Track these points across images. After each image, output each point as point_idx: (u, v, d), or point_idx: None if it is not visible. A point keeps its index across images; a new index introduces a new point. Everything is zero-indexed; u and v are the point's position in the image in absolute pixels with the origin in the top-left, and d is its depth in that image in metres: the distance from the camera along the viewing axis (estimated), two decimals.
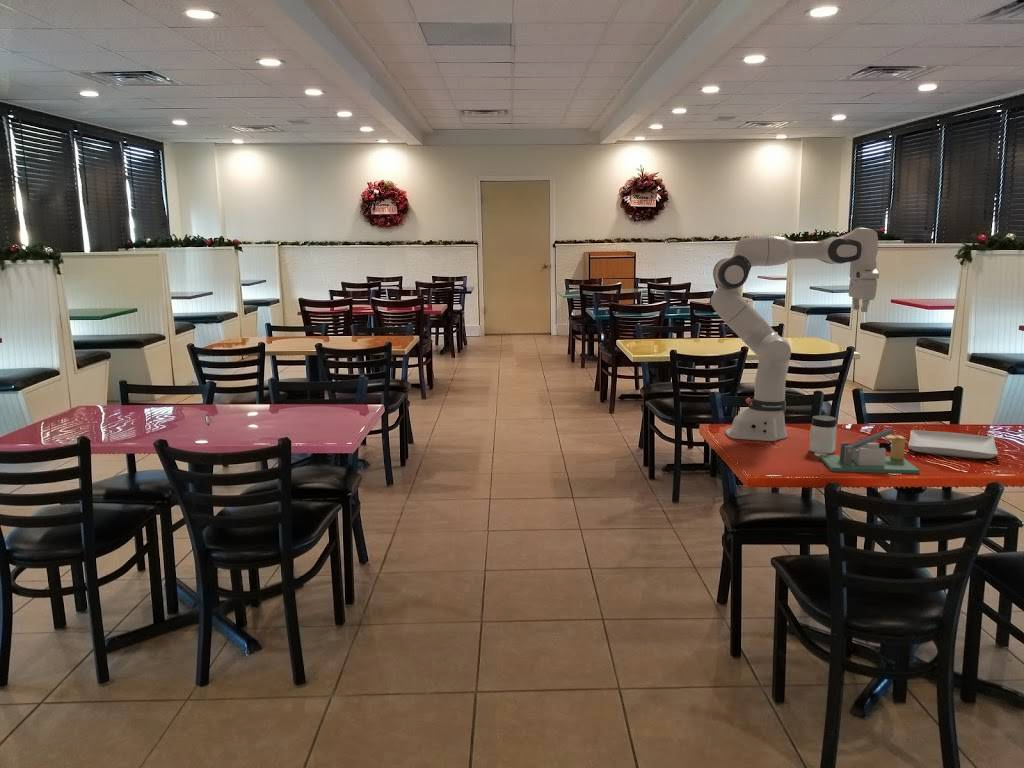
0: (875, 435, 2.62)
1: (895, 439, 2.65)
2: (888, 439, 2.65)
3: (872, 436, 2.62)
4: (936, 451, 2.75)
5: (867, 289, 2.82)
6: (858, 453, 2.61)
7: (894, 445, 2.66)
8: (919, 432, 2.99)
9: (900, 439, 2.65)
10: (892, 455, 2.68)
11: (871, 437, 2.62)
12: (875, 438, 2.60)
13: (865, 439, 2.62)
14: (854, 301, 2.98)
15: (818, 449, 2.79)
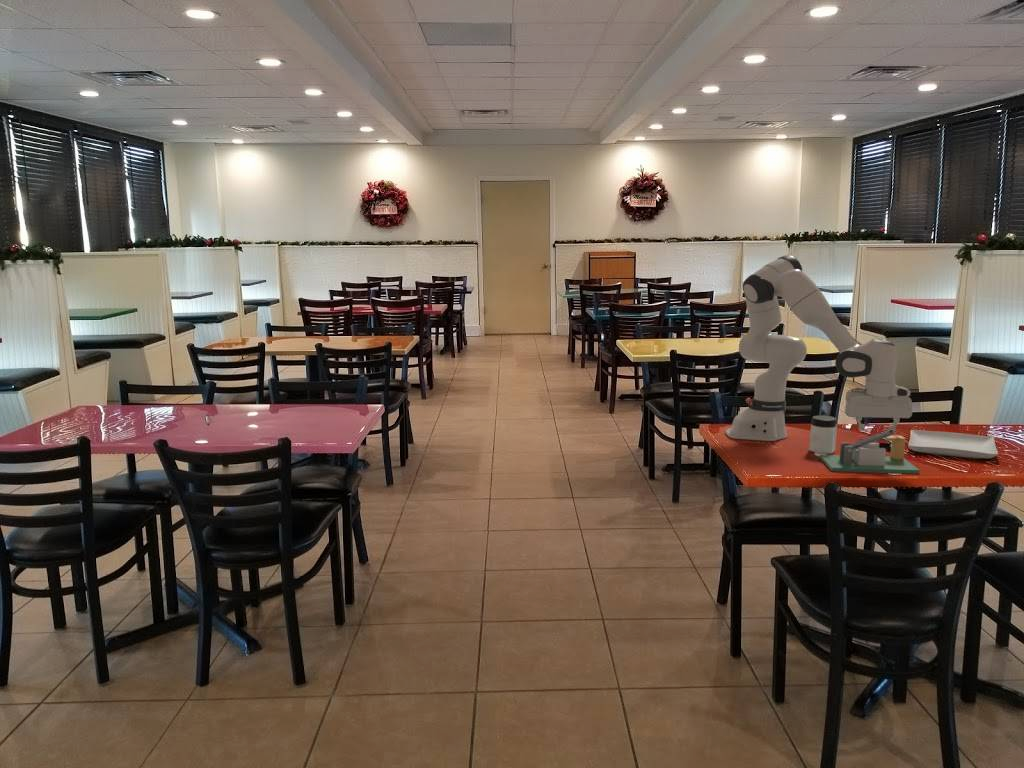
0: (875, 436, 2.62)
1: (895, 439, 2.65)
2: (888, 439, 2.65)
3: (872, 437, 2.62)
4: (936, 451, 2.75)
5: None
6: (858, 453, 2.61)
7: (894, 445, 2.66)
8: (919, 432, 2.99)
9: (900, 439, 2.65)
10: (892, 455, 2.68)
11: (871, 438, 2.62)
12: (875, 439, 2.60)
13: (865, 439, 2.62)
14: None
15: (818, 449, 2.79)
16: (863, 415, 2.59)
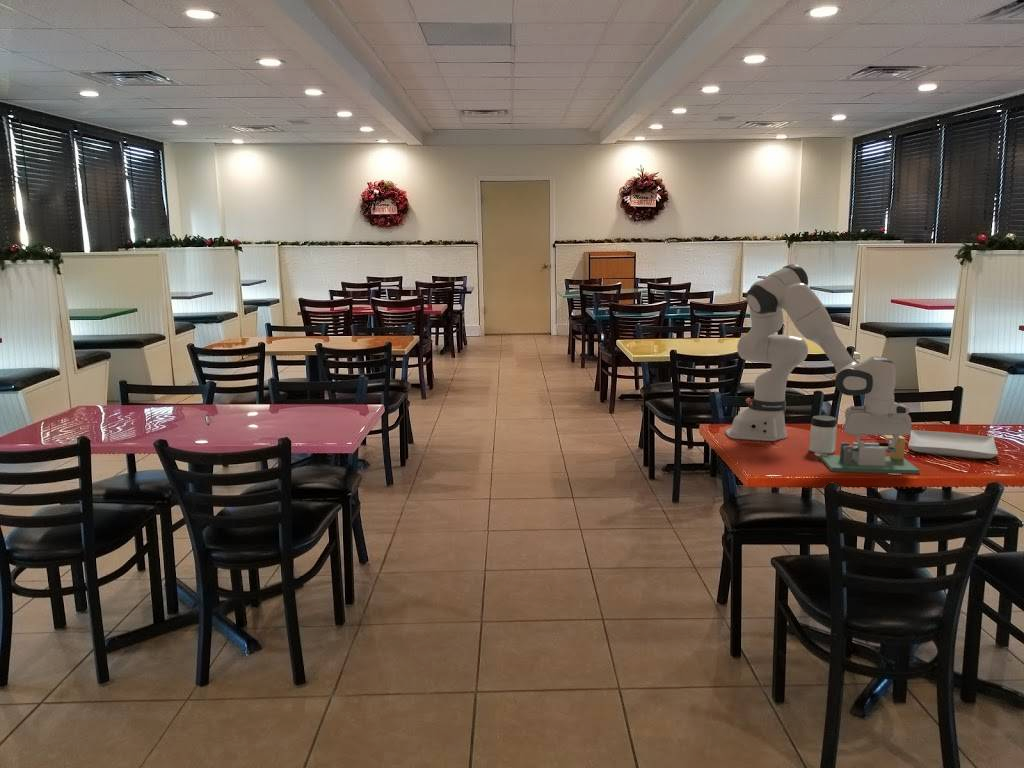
0: (878, 447, 2.62)
1: None
2: (888, 439, 2.65)
3: (874, 447, 2.63)
4: (936, 451, 2.75)
5: None
6: (858, 453, 2.61)
7: None
8: (919, 432, 2.99)
9: (900, 439, 2.65)
10: (892, 455, 2.68)
11: (873, 447, 2.62)
12: None
13: (867, 447, 2.63)
14: (859, 438, 2.62)
15: (818, 449, 2.79)
16: (862, 432, 2.60)
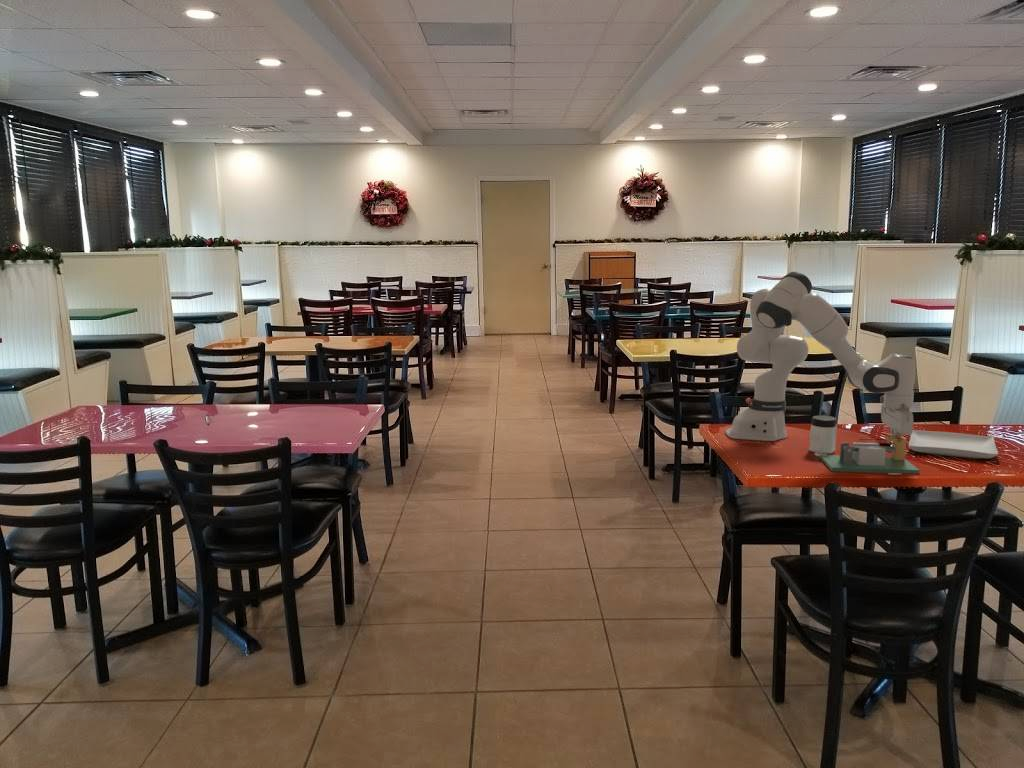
0: (878, 447, 2.62)
1: (896, 440, 2.64)
2: (889, 440, 2.64)
3: (874, 447, 2.63)
4: (936, 451, 2.75)
5: None
6: (858, 453, 2.61)
7: (895, 446, 2.65)
8: (919, 432, 2.99)
9: (901, 440, 2.64)
10: (893, 456, 2.67)
11: (873, 447, 2.62)
12: None
13: (867, 447, 2.63)
14: None
15: (818, 449, 2.79)
16: None
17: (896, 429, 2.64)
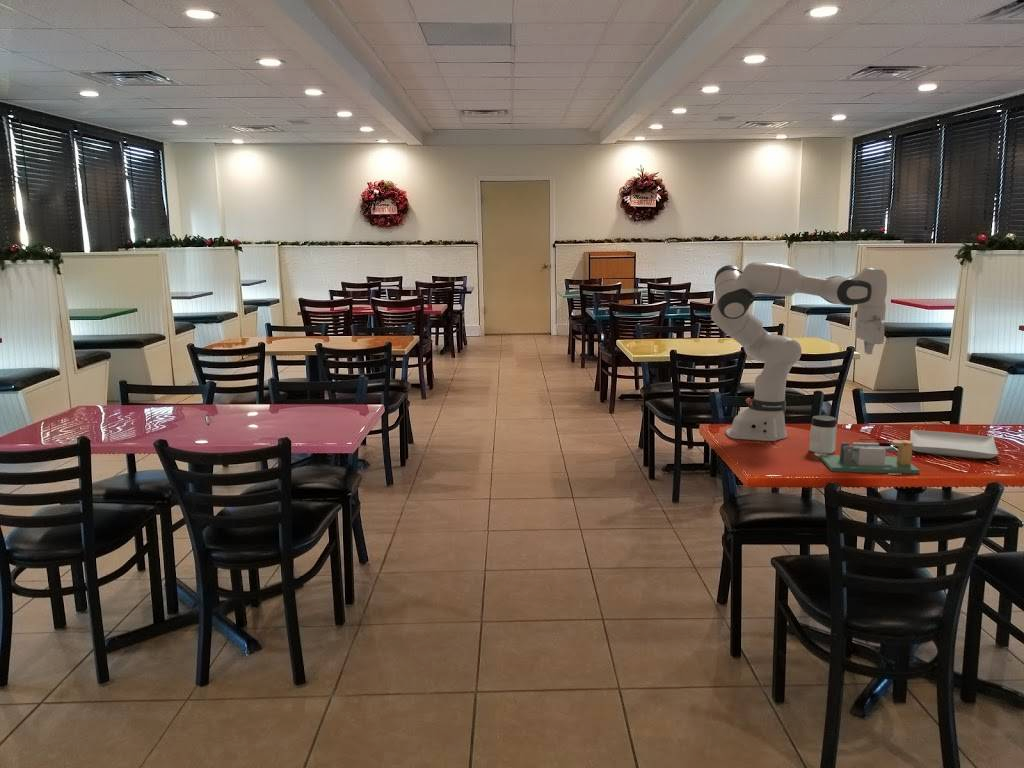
0: (878, 447, 2.62)
1: (902, 444, 2.59)
2: (895, 444, 2.59)
3: (874, 447, 2.63)
4: (936, 451, 2.75)
5: None
6: (858, 453, 2.61)
7: (901, 450, 2.60)
8: (919, 432, 2.99)
9: (907, 444, 2.59)
10: (899, 460, 2.62)
11: (873, 447, 2.62)
12: None
13: (867, 447, 2.63)
14: None
15: (818, 449, 2.79)
16: None
17: (868, 340, 2.75)
